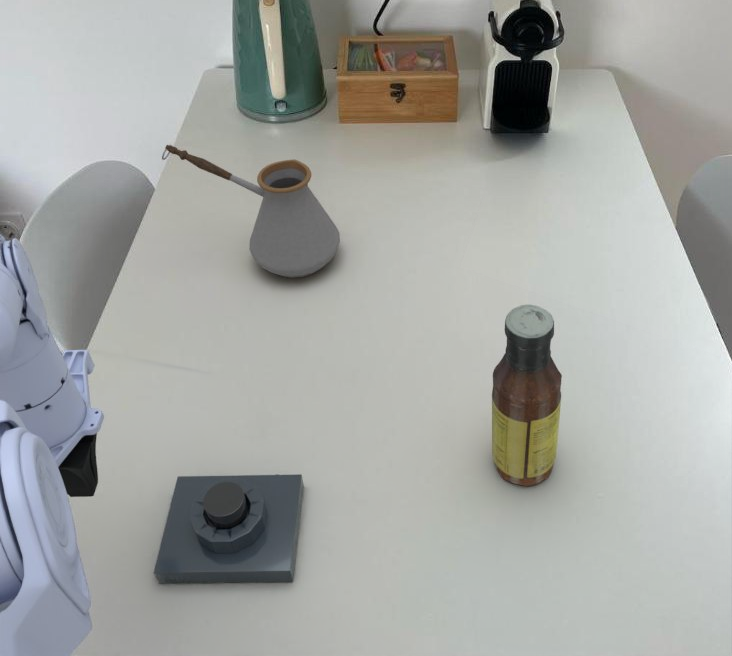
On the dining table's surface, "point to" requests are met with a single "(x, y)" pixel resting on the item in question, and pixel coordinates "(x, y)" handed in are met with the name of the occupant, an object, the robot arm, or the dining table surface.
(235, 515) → the dark grey push button
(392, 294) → the dining table surface
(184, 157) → the coffee pot
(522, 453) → the sauce bottle
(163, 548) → the grey button housing
